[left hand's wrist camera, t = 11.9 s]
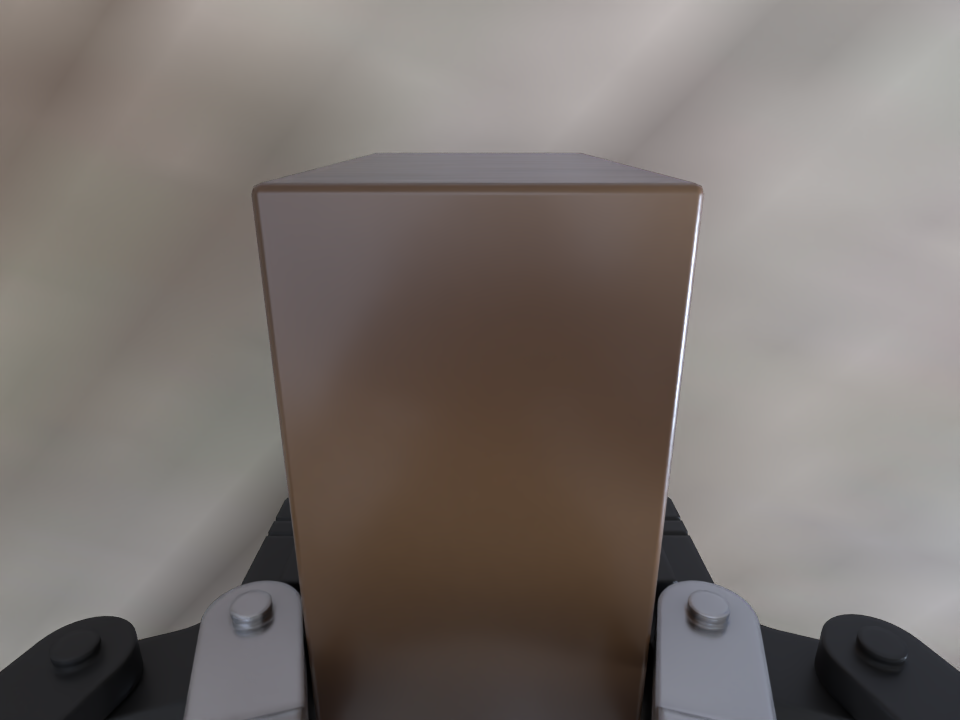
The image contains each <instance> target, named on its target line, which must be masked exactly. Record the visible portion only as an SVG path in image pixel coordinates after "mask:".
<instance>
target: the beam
mask: <svg viewBox="0 0 960 720" xmlns="http://www.w3.org/2000/svg"><path fill="white" fill-rule="evenodd" d="M703 198H704V193H703V189H702V186H700V185H698V184H696V183H693V182H689V181H685V180H681V179H678V178H674V177H670V176H666V175H662V174H659V173H655V172H651V171H647V170H643V169H640V168H636V167H632V166H628V165H624V164H621V163H617V162H613V161H609V160H605V159H602V158H598V157H594V156H590V155H587V154H583V153H374V154H370V155H367V156H363V157H359V158H355V159H351V160H347V161H343V162H340V163H336V164H332V165H328V166H324V167H320V168H317V169H313V170H309V171H305V172H301V173H297V174H293V175H290V176H286V177H282V178H278V179H274V180H270V181H266V182H263V183H260V184H258V185H255V186H254V187H253V191H252V202H253V210H254V218H255V226H256V235H257V243H258V251H259V259H260V267H261V275H262V283H263V291H264V300H265V308H266V316H267V324H268V332H269V340H270V348H271V356H272V365H273V373H274V381H275V389H276V397H277V405H278V413H279V421H280V430H281V438H282V446H283V454H284V462H285V470H286V478H287V486H288V495H289V503H290V511H291V519H292V527H293V535H294V543H295V551H296V560H297V568H298V576H299V584H300V592H301V600H302V608H303V616H304V625H305V633H306V641H307V649H308V657H309V665H310V673H311V681H312V690H313V698H314V706H315V714H316V720H640V718H641V710H642V702H643V694H644V685H645V677H646V669H647V661H648V652H649V644H650V636H651V628H652V619H653V611H654V603H655V595H656V586H657V578H658V570H659V561H660V553H661V545H662V537H663V528H664V520H665V512H666V504H667V495H668V487H669V479H670V471H671V462H672V454H673V446H674V438H675V429H676V421H677V413H678V405H679V396H680V388H681V380H682V371H683V363H684V355H685V347H686V338H687V330H688V322H689V314H690V305H691V297H692V289H693V281H694V272H695V264H696V256H697V248H698V239H699V231H700V223H701V215H702V206H703Z"/></svg>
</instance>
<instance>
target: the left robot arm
mask: <svg viewBox="0 0 960 720" xmlns="http://www.w3.org/2000/svg"><path fill="white" fill-rule="evenodd" d="M268 533H269V534H268V536H266V538H265V540H264V542H263V544H262V546H261V548H260V550H259V551H258V553H257V555H256V557H255V559H254V561H253V563H252V565H251V567H250V569H249V571H248V573H247V575H246V576H245V578H244V580H243V582H242V584H241V586H238V587H236V588H234V589H231V590H229V591H228V592H226V593H224V594H223V595H221V596H220V597H219V598H217V599H216V600H215V601H214V602H213V603H212V604H211V605H210V606H209V607H208V608H207V610H206V611H205V613H204V615H203V617H202V620H201V623H199V624H197V625H194V626H191V627H189V628H186V629H182V630H179V631H175V632H171V633H167V634H162V635H158V636H154V637H150V638H145V639H141V640H138V639H137V634H136V631H135V628H134V627H133V625H132V624H131V623H130V622H128V621H127V620H125V619H122V618H119V617H114V616H101V617H93V618H88V619H84V620H80V621H77V622H74V623H72V624H69V625H66V626H64V627H62V628H60V629H58V630H56V631H54V632H53V633H51V634H49V635H48V636H46V637H45V638H43V639H42V640H41V641H39V642H38V643H37V644H35V645H34V646H33V647H31V648H30V649H29V650H28V651H26V652H25V653H24V654H23V655H21V656H20V657H19V658H17V659H16V660H15V661H14V662H12V663H11V664H10V665H8V666H7V667H6V668H5V669H3V670H2V671H1V672H0V720H316V714H315V706H314V698H313V690H312V681H311V673H310V665H309V657H308V649H307V641H306V633H305V625H304V616H303V608H302V600H301V592H300V584H299V576H298V568H297V560H296V551H295V543H294V535H293V527H292V519H291V511H290V503H289V497H288V498H287V499H286V500H285V501H284V503H283V505H282V507H281V509H280V511H279V513H278V515H277V517H276V521H274V523H273V524H272V526H271V528H270V530H269V532H268ZM640 720H960V672H959V671H958V670H957V669H955V668H954V667H953V666H952V665H950V664H949V663H948V662H946V661H945V660H944V659H943V658H941V657H940V656H939V655H937V654H936V653H935V652H934V651H932V650H931V649H930V648H929V647H927V646H926V645H925V644H923V643H922V642H921V641H920V640H918V639H917V638H915V637H914V636H913V635H911V634H910V633H908V632H906V631H905V630H903V629H901V628H899V627H897V626H895V625H893V624H891V623H888V622H886V621H883V620H880V619H877V618H873V617H869V616H864V615H855V614H847V615H840V616H836V617H833V618H831V619H830V620H828V621H827V622H826V623H825V624H824V626H823V628H822V632H821V636H820V640H818V639H814V638H810V637H805V636H801V635H797V634H793V633H788V632H784V631H780V630H776V629H772V628H769V627H766V626H763V625H761V624H760V623H759V620H758V617H757V615H756V613H755V611H754V610H753V608H752V607H751V606H750V605H749V604H748V603H747V602H746V601H745V600H744V599H743V598H741V597H740V596H739V595H737V594H736V593H734V592H732V591H731V590H729V589H726V588H724V587H722V586H719V585H716V584H714V582H713V580H712V578H711V577H710V575H709V573H708V571H707V569H706V567H705V565H704V563H703V561H702V559H701V557H700V555H699V553H698V551H697V549H696V547H695V545H694V543H693V541H692V539H691V537H690V535H688V532H687V530H686V528H685V526H684V524H683V522H682V521H680V516H679V514H678V512H677V510H676V508H675V506H674V504H673V502H672V500H671V499H670V498H669V497H667V504H666V512H665V520H664V528H663V537H662V545H661V553H660V561H659V570H658V578H657V586H656V595H655V603H654V611H653V619H652V628H651V636H650V644H649V652H648V661H647V669H646V677H645V685H644V694H643V702H642V710H641V718H640Z"/></svg>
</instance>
